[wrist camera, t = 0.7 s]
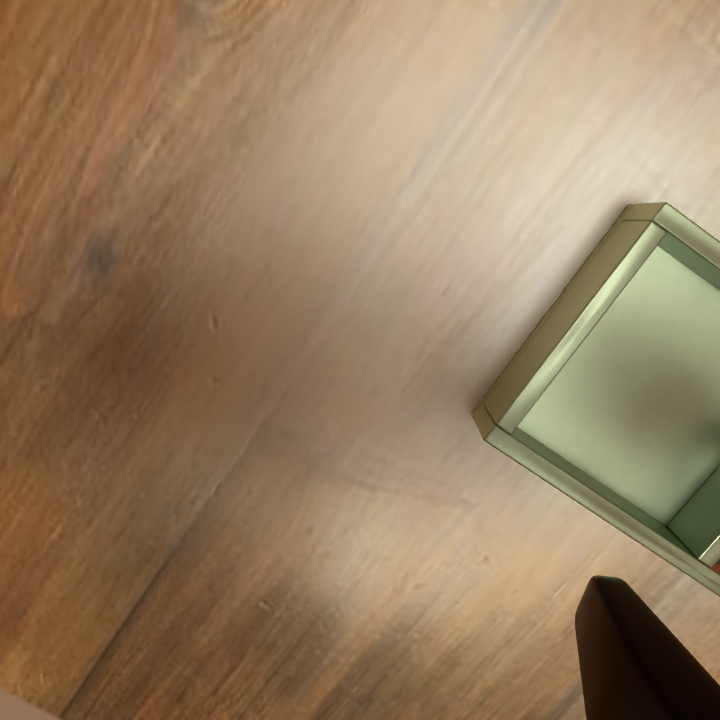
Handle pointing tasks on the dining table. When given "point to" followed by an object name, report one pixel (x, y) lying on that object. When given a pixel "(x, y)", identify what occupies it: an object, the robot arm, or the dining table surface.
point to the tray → (628, 389)
